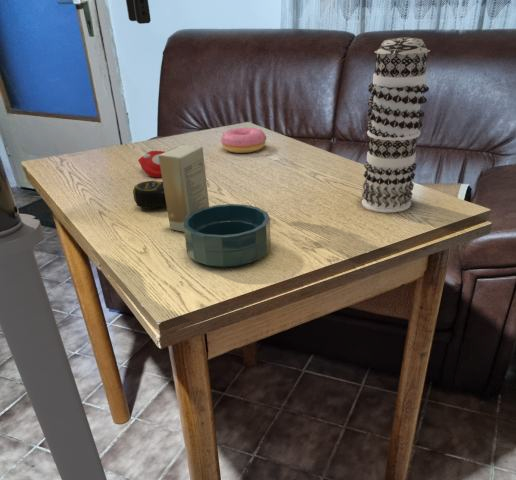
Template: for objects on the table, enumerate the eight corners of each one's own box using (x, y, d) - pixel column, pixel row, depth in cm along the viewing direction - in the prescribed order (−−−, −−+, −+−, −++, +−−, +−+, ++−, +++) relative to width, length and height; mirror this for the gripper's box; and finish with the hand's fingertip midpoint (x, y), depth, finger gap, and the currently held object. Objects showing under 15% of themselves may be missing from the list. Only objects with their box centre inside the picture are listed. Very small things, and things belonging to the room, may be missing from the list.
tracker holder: (164, 175, 105) (127, 158, 108) (167, 192, 109) (130, 175, 112) (200, 147, 112) (163, 131, 115) (201, 164, 115) (166, 149, 118)
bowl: (189, 274, 72) (184, 240, 69) (186, 238, 82) (182, 208, 79) (276, 265, 73) (275, 231, 70) (263, 231, 83) (262, 200, 80)
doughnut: (217, 145, 128) (216, 127, 125) (260, 140, 129) (260, 123, 127) (226, 156, 119) (224, 137, 116) (271, 151, 121) (271, 133, 118)
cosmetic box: (191, 216, 89) (182, 143, 82) (211, 220, 87) (204, 145, 80) (168, 230, 85) (156, 153, 78) (189, 234, 83) (179, 156, 76)
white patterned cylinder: (369, 216, 86) (385, 44, 72) (352, 197, 94) (363, 38, 79) (421, 210, 87) (446, 40, 73) (400, 192, 95) (419, 34, 80)
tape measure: (170, 211, 92) (167, 190, 90) (132, 212, 92) (128, 192, 90) (175, 198, 97) (172, 178, 95) (139, 199, 97) (135, 179, 95)
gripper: (91, -98, 82) (112, 21, 91) (100, -112, 71) (123, 25, 80) (138, -99, 84) (153, 19, 93) (154, -112, 73) (170, 22, 82)
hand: (139, 22), depth 87 cm, fingers open, 8 cm apart
